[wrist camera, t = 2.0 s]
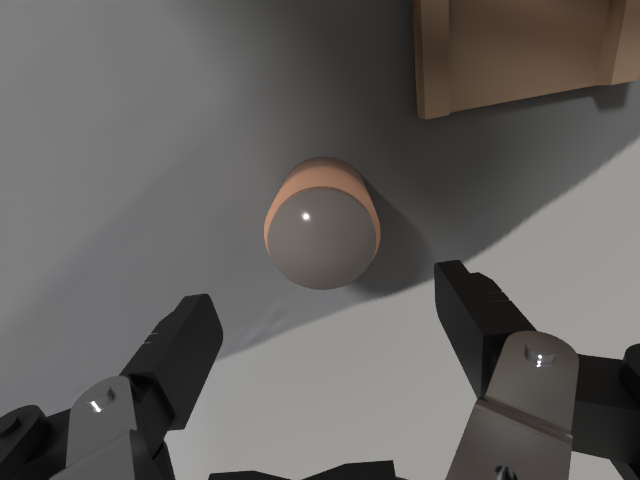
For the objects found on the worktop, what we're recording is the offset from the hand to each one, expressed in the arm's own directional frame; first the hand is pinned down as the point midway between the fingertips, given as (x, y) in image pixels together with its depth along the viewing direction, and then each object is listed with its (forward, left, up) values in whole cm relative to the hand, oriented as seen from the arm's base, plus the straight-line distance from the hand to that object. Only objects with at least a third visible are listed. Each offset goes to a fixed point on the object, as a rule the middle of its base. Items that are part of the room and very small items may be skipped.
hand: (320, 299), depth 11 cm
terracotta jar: (0, 0, -10) cm, 10 cm away
